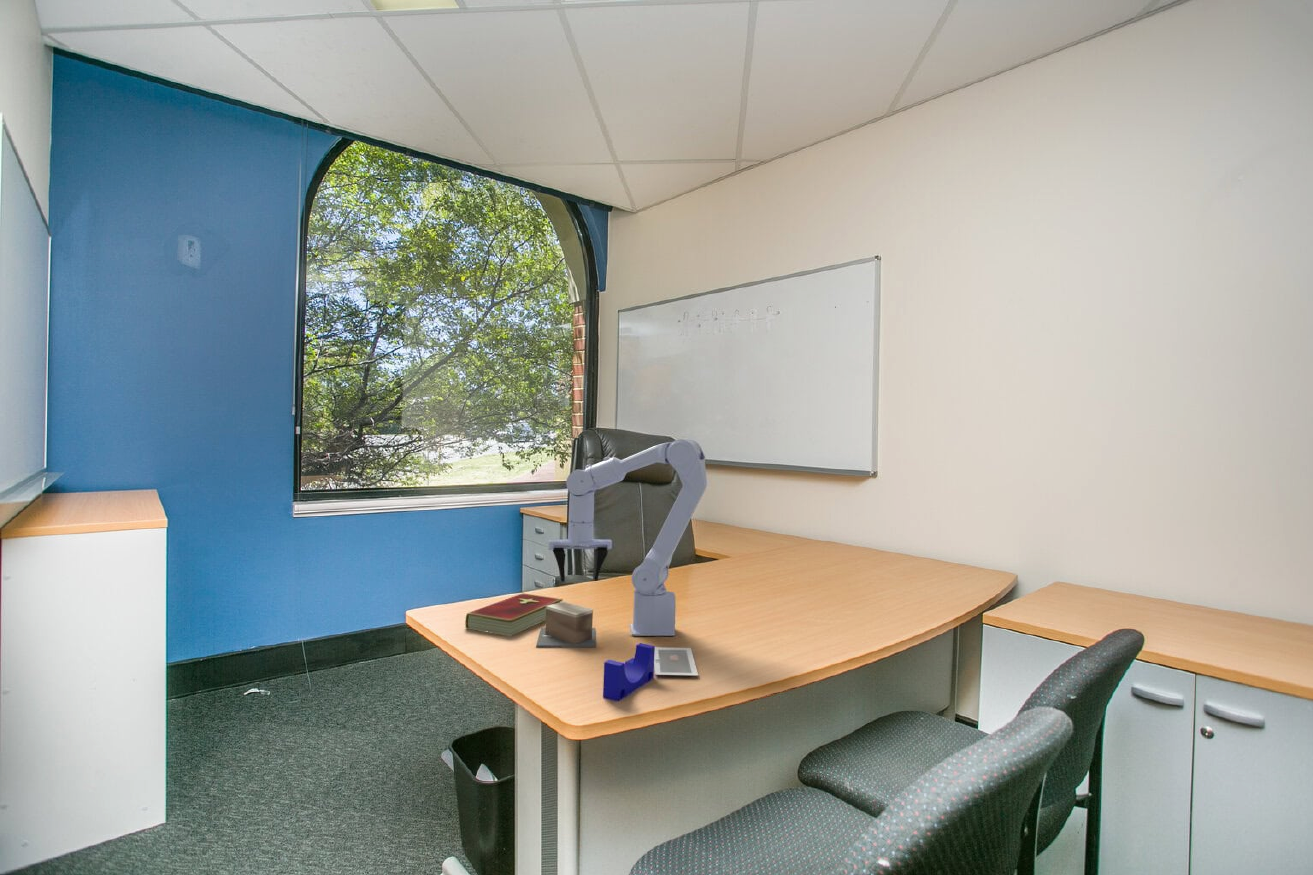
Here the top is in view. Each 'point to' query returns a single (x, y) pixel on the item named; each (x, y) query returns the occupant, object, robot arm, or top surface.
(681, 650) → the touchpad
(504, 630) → the hardcover book
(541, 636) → the mat
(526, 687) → the top surface
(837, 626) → the top surface
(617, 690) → the blue cradle bracket
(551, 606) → the card box
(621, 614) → the top surface
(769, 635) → the top surface
